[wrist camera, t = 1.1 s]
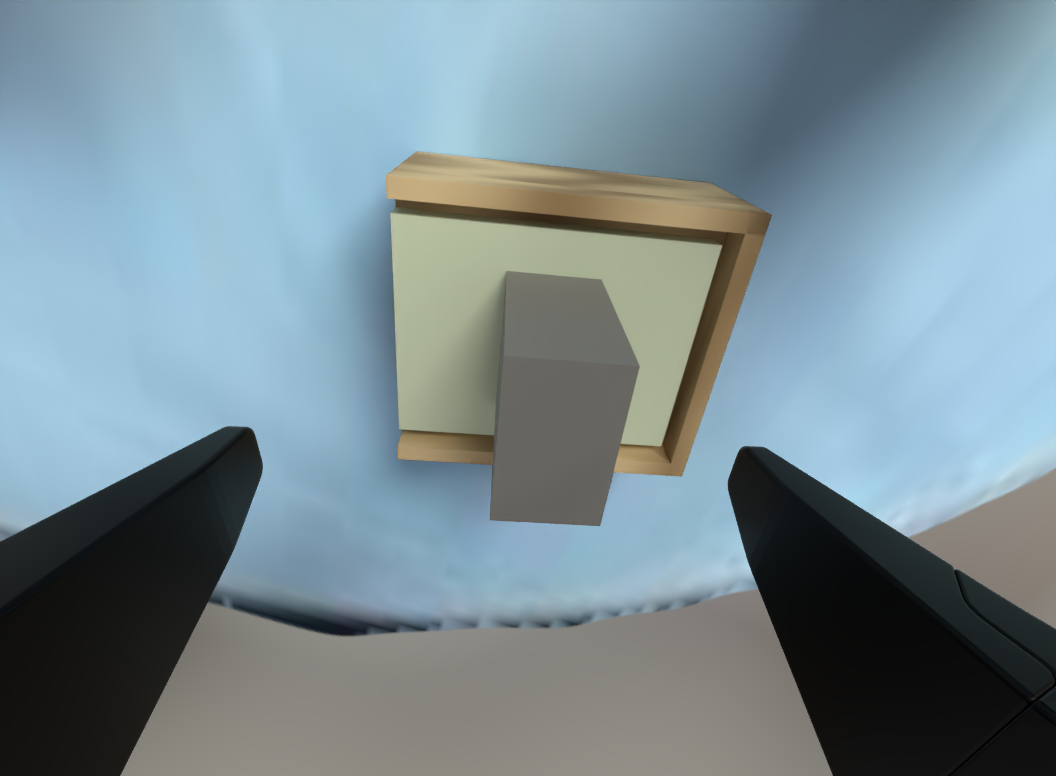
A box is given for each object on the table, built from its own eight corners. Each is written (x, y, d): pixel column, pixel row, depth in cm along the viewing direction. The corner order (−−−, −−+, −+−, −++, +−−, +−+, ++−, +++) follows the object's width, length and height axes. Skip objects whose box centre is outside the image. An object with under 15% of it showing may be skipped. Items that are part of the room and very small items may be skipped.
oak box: (711, 182, 19) (771, 214, 15) (650, 403, 24) (681, 476, 20) (416, 151, 18) (386, 175, 14) (419, 386, 23) (397, 458, 19)
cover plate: (713, 238, 16) (816, 321, 11) (656, 433, 20) (709, 566, 15) (396, 207, 15) (331, 279, 10) (403, 416, 19) (360, 549, 14)
